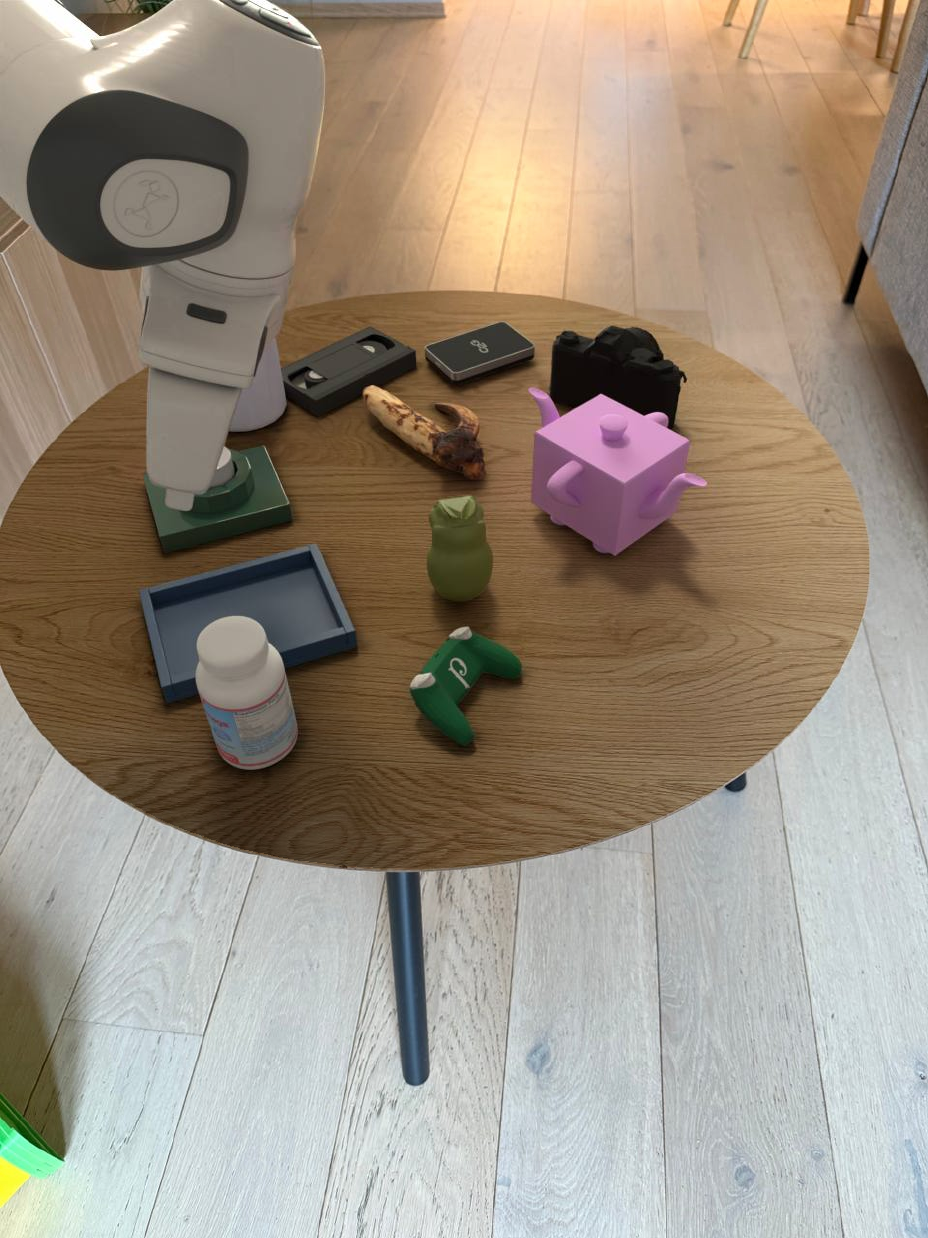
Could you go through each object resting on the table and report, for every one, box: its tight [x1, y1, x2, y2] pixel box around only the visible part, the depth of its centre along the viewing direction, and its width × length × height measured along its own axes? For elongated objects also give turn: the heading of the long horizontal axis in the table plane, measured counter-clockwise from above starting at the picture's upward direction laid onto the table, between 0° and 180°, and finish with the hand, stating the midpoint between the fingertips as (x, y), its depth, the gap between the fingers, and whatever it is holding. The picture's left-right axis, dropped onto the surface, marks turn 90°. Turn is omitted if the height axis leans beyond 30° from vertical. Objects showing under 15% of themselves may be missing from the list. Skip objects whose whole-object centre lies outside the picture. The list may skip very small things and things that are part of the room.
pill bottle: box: [196, 616, 299, 771], centre depth 67 cm, size 6×6×11 cm
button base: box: [142, 445, 294, 554], centre depth 89 cm, size 12×10×4 cm
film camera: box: [548, 325, 688, 431], centre depth 99 cm, size 15×10×9 cm, turn 56°
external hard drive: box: [424, 321, 536, 386], centre depth 107 cm, size 7×11×2 cm, turn 122°
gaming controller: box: [409, 626, 523, 747], centre depth 73 cm, size 9×4×6 cm
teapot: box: [528, 387, 708, 556], centre depth 85 cm, size 15×13×11 cm
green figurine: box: [426, 494, 494, 602], centre depth 79 cm, size 6×5×10 cm
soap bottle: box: [229, 337, 288, 433], centre depth 93 cm, size 9×9×25 cm
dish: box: [138, 542, 359, 704], centre depth 79 cm, size 16×12×2 cm
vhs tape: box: [281, 326, 417, 417], centre depth 106 cm, size 14×8×2 cm, turn 134°
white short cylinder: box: [209, 445, 235, 488], centre depth 87 cm, size 4×4×2 cm
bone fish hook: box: [362, 385, 487, 481], centre depth 96 cm, size 9×5×18 cm
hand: (188, 463), depth 68 cm, fingers open, 8 cm apart
